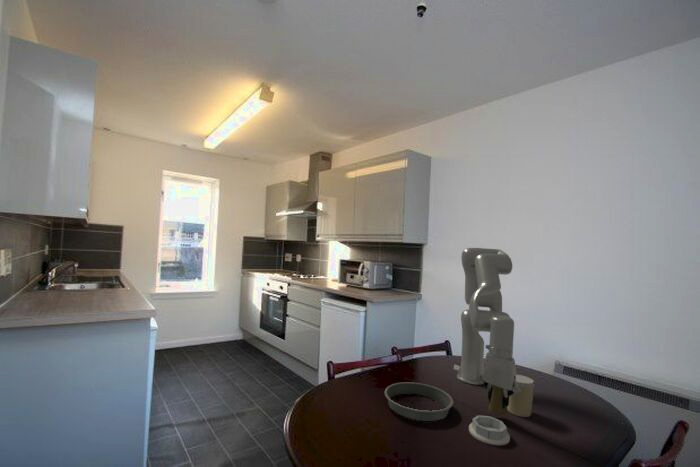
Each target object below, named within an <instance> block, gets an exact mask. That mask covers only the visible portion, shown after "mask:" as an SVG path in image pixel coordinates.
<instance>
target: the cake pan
mask: <svg viewBox="0 0 700 467" xmlns="http://www.w3.org/2000/svg"><path fill="white" fill-rule="evenodd" d="M399 394H408V395H409V394H419V395H418V396H420V395H424V396H423V397H425V396H428V397H431V398H434V399H436V400H438V401H439V402H441V403H442V404H443V405H444V406H445V407H446V408H444V409H440V410H432V411H429V410H418V409H413V408H409V407H405V406H402V405H400V404H398V403H396V402H394V401H393V400H391V399H390V398H391V397H393V396H395V395H399ZM384 396H385V397H386V399H387V402H388V407H389V406H390V407H389V409H390V408H391V409H392V410H394V411H395V412H397V413H398V414H400V415H402V416H405V417H408V418H411V419H416V420H423V421H433V420H440V419H442V420H444V419H445V418H447V416H448V415H447V414H449V411H450V409H451V408H452V407H453V406H454V400H453V397H452V396H451V395H450V394H449V393H447V392H446V391H444V390H442V389H441V388H439V387H436V386H432V385H430V384H427V383H419V382H409V381H407V382H405V381H403V382H396V383H392V384H390V385H388V386H387V387H386V388H385V390H384ZM399 396H400V395H399ZM428 397H427V398H428ZM431 398H430V399H431ZM391 409H390V410H391ZM392 410H391V411H392ZM395 412H394V413H395ZM398 414H397V415H398ZM443 418H444V419H443ZM440 421H441V420H440Z"/></svg>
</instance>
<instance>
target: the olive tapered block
mask: <svg viewBox="0 0 700 467" xmlns="http://www.w3.org/2000/svg"><path fill="white" fill-rule="evenodd" d="M491 386H492V387H493V388H492V394H491V399H490V403H489V402H488V408H487V409H488V411H489V412H490V413H492V414H494V415H497V416H506V415H507V414H508V408H507V406H505V408H504V409H503V407H502V397H503V396H504V391H503V390H504V389H503V388H500V387H498V386H495V385H492V384H491Z"/></svg>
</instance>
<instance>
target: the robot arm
mask: <svg viewBox="0 0 700 467" xmlns="http://www.w3.org/2000/svg"><path fill="white" fill-rule="evenodd" d="M512 261H513V260H512V259H511V257H510V255H509V254H507V252H505V251H503V250H501V249H498V248H484V247H468V248H465V249H464V250H462V252H461V265H462V268H463V272H464V276H465V278H464V279H465V281H464V300H465V303H466V304H467V305H468V309H464V310H463V311H462V312H461V314H460V322H461V356H460V357H461V360H460V361H461V362H460V366H459V365H458V364H454V365H453V371H457V372H458V373H456V378H457V379H458V380H459V381H460V382H463V383H466V384H470V385H477V386H478V385H479V386H480V385H481V386H483V385H484V386H485V388H486V390H487V399H488V404H489V403H490V399H491V394H492V388H493V387H492V386H491V384H492V385H495V386H498V387H500V388H503V389H504V390H503V391H504V396H503V397H502V407H503V409H504V408H505V406H508V405H509V396H511V395H512V394H516V393H519V392H520V388H519V386H518V384H517V382H516V374H517V368H516V360H515V358H514V357H513V354H514V353H513V352H514V338H515V337H514V336H515V335H514V334H515V333H514V332H515V321H514V320H513V318H512V317H511V316H510V315H509V314H508V312H504V311H503V295H502V292H501V289H502V288H501V287H502V284H501V279H500V275H504V276H505V275H510V274H511V273H512V270H513V262H512ZM479 308H488V309H489V310H488V309H487V310H486V309H479ZM480 332H486V333H489V344H485V341H484V338H483V337H482V335H481V334H480ZM485 349H487V350H488V352H486V354H485ZM484 354H485V355H484ZM513 387H514V389H512V388H513ZM510 389H512V390H510Z"/></svg>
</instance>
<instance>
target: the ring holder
mask: <svg viewBox="0 0 700 467" xmlns="http://www.w3.org/2000/svg"><path fill="white" fill-rule="evenodd" d="M468 432H469V434H470V435H471V436H472V437H473V438H474V439H476V440H478V441H479V442H482V443H483V444H488V445H491V446H500V447H501V446H506V445H508V444H509V443H510V440H511V435H510V433H509V432H508V428H507V426H506V424H504V422H503V421H502V420H500V419H497V418H495V417H493V416H489V415H479V414H478V415H476V416H475V417H473V418H472V421H471V423H470V424H469V425H468Z"/></svg>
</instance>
